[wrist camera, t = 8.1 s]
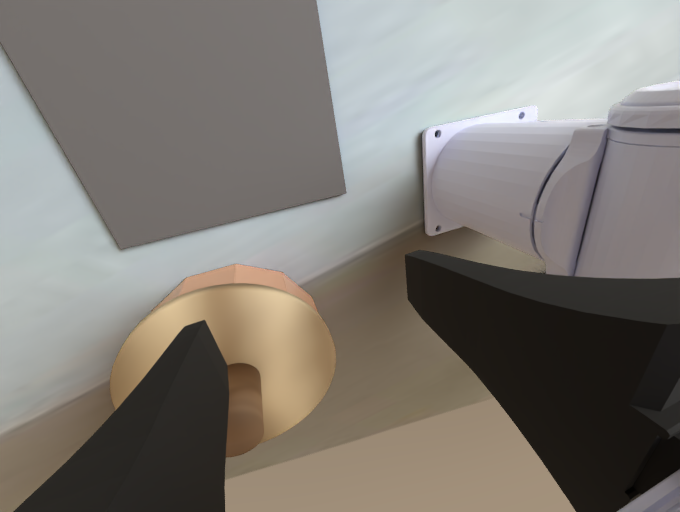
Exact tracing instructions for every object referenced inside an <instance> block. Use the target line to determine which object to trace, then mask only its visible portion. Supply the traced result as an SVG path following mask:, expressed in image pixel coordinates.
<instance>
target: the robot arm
mask: <svg viewBox="0 0 680 512" xmlns="http://www.w3.org/2000/svg"><path fill="white" fill-rule="evenodd" d="M519 114H520V117H519ZM537 114H538V109H537V107H536V106H527V107H522V108H517V109H513V110H508V111H503V112H499V113H494V114H489V115H484V116H480V117H475V118H470V119H466V120H461V121H456V122H451V123H447V124H442V125H437V126H433V127H428V128H426V129H425V130H424V132H423V135H422V146H423V180H424V214H425V233H426V234H427V235H429V236H434V235H437V234H441V233H444V232H447V231H451V230H454V229H457V228H461V227H464V226H465V227H468V228H470V229H472V230H475V231H477V232H479V233H481V234H484V235H486V236H488V237H490V238H493V239H495V240H497V241H500V242H502V243H504V244H506V245H509V246H511V247H513V248H515V249H518V250H520V251H522V252H525V253H527V254H529V255H531V256H534V257H536V258H538V259H540V260H543V261H545V263H546V274H543V273H535V272H527V271H520V270H514V269H508V268H503V267H497V266H492V265H487V264H482V263H477V262H473V261H468V260H464V259H460V258H456V257H451V256H447V255H443V254H438V253H434V252H429V251H422V250H418V251H415V252H412V253H409V254H406V255H405V264H406V279H407V293H408V300H409V301H410V303H411V304H412V306H413V307H414V309H415V310H416V311H417V313H418V314H419V315H420V316H421V318H422V319H423V320H424V321H425V322H426V323H427V324H428V325H429V326H430V327H431V328H432V330H433V331H434V332H435V333H436V334H437V335H438V336H439V337H440V338H441V339H442V340H443V341H444V342H445V343H446V344H447V345H448V346H449V347H450V348H451V349H452V350H453V351H454V352H455V353H456V354H457V355H458V356H459V357H460V358H461V359H462V360H463V361H464V362H465V363H466V364H467V365H468V366H469V367H470V368H471V369H472V371H473V372H474V373H475V374H476V375H477V376H478V378H479V379H480V380H481V381H482V382H483V384H484V385H485V386H486V387H487V389H488V390H489V391H490V392H491V394H492V395H493V396H494V397H495V398H496V400H497V401H498V402H499V403H500V405H501V406H502V408H503V409H504V410H505V411H506V413H507V414H508V415H509V417H510V418H511V419H512V421H513V422H514V423H515V424H516V426H517V427H518V429H519V430H520V431H521V433H522V434H523V435H524V437H525V438H526V439H527V441H528V442H529V444H530V445H531V446H532V448H533V449H534V451H535V452H536V453H537V455H538V456H539V458H540V459H541V460H542V462H543V463H544V465H545V466H546V468H547V469H548V471H549V472H550V473H551V475H552V476H553V478H554V479H555V481H556V482H557V484H558V485H559V487H560V488H561V490H562V491H563V493H564V494H565V495H566V497H567V498H568V500H569V501H570V503H571V504H572V506H573V507H574V509H575V511H576V512H680V80H677V81H671V82H666V83H660V84H655V85H650V86H646V87H642V88H639V89H636V90H634V91H633V92H632V93H630V94H629V95H628V96H627V97H625V98H624V99H623V100H622V101H621V102H618V103H616V104H614V105H613V106H612V107H610V109H609V113H608V118H599V119H565V120H537ZM436 130H437V131H438V135H437V137H435V132H436ZM437 226H438V229H437V230H436V227H437ZM228 411H229V380H228V368H227V363H226V361H225V359H224V357H223V355H222V353H221V351H220V349H219V347H218V345H217V343H216V341H215V339H214V337H213V335H212V333H211V331H210V329H209V327H208V325H207V323H206V321H205V320H202V321H199V322H196V323H193V324H190V325H187V326H184V328H183V329H182V330H181V331H180V332H179V333H178V335H177V336H176V337H175V338H174V340H173V341H172V342H171V343H170V345H169V346H168V347H167V349H166V350H165V351H164V353H163V354H162V355H161V356H160V358H159V359H158V360H157V361H156V363H155V364H154V365H153V366H152V368H151V369H150V370H149V372H148V373H147V374H146V375H145V377H144V378H143V379H142V380H141V381H140V383H139V384H138V385H137V386H136V387H135V388H134V390H133V391H132V392H131V393H130V394H129V395H128V397H127V398H126V399H125V400H124V401H123V402H122V404H121V405H120V406H119V407H118V408H117V409H116V411H115V412H114V413H113V414H112V415H111V416H110V417H109V418H108V420H107V421H106V422H105V423H104V424H103V425H102V426H101V427H100V428H99V429H98V430H97V431H96V432H95V433H94V435H93V436H92V437H91V438H90V439H89V440H88V441H87V442H86V443H85V444H84V445H83V446H82V447H81V448H80V449H79V450H78V451H77V452H76V453H75V454H74V455H73V456H72V457H71V458H70V459H69V460H68V461H67V462H66V463H65V464H64V465H63V466H62V467H61V468H60V469H59V470H58V471H56V472H55V473H54V474H53V475H52V476H51V477H50V478H49V479H48V480H47V481H46V482H45V483H44V484H42V485H41V486H40V487H39V488H38V489H37V490H36V491H35V492H34V493H33V494H32V495H31V496H30V497H29V498H27V499H26V500H25V501H24V502H23V503H22V504H21V505H20V506H19V507H18V508H17V509H16V510H15V511H14V512H225V492H224V482H225V459H226V443H227V428H228Z"/></svg>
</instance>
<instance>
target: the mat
mask: <svg viewBox="0 0 680 512" xmlns="http://www.w3.org/2000/svg"><path fill="white" fill-rule="evenodd" d="M0 42H1V44H2V46H3V48H4V49H5V51H6V53H7V54H8V56H9V58H10V60H11V61H12V63H13V65H14V66H15V68H16V70H17V72H18V73H19V75H20V77H21V79H22V80H23V82H24V84H25V85H26V87H27V89H28V91H29V92H30V94H31V96H32V97H33V99H34V101H35V103H36V104H37V106H38V108H39V109H40V111H41V113H42V115H43V116H44V118H45V120H46V122H47V123H48V125H49V127H50V128H51V130H52V132H53V134H54V135H55V137H56V139H57V140H58V142H59V144H60V146H61V147H62V149H63V151H64V152H65V154H66V156H67V158H68V159H69V161H70V163H71V165H72V166H73V168H74V170H75V171H76V173H77V175H78V177H79V178H80V180H81V182H82V183H83V185H84V187H85V189H86V190H87V192H88V194H89V195H90V197H91V199H92V201H93V202H94V204H95V206H96V208H97V209H98V211H99V213H100V214H101V216H102V218H103V220H104V221H105V223H106V225H107V226H108V228H109V230H110V232H111V233H112V235H113V237H114V238H115V240H116V242H117V244H118V245H119V247H120V249H124V248H128V247H132V246H136V245H140V244H144V243H148V242H152V241H156V240H160V239H164V238H168V237H172V236H176V235H180V234H185V233H189V232H193V231H197V230H201V229H205V228H209V227H213V226H217V225H221V224H225V223H229V222H233V221H237V220H241V219H245V218H249V217H253V216H257V215H261V214H265V213H269V212H273V211H277V210H281V209H285V208H289V207H293V206H297V205H301V204H305V203H309V202H313V201H317V200H321V199H325V198H329V197H333V196H337V195H341V194H345V193H346V187H345V181H344V174H343V168H342V162H341V155H340V149H339V142H338V136H337V130H336V123H335V117H334V111H333V104H332V98H331V91H330V85H329V79H328V72H327V66H326V60H325V53H324V47H323V40H322V34H321V28H320V21H319V15H318V9H317V2H316V0H0Z"/></svg>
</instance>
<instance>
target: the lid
mask: <svg viewBox="0 0 680 512" xmlns="http://www.w3.org/2000/svg"><path fill="white" fill-rule="evenodd" d="M202 320H205V321H206V323H207V325H208V327H209V329H210V331H211V333H212V335H213V337H214V339H215V341H216V343H217V345H218V347H219V349H220V351H221V353H222V355H223V357H224V359H225V361H226V363H227V368H228V380H229V411H228V428H227V443H226V457H233V456H238V455H241V454H244V453H246V452H248V451H250V450H251V449H253V448H254V447H256V446H257V445H258V444H259V443H262V442H265V441H267V440H270V439H272V438H274V437H276V436H278V435H280V434H282V433H283V432H285V431H287V430H289V429H290V428H292V427H293V426H295V425H296V424H298V423H299V422H300V421H301V420H302V419H304V418H305V417H306V416H307V415H308V414H309V413H310V412H311V411H312V410H313V409H314V408H315V407H316V406H317V405H318V403H319V402H320V401H321V400H322V398H323V397H324V395H325V394H326V392H327V390H328V388H329V386H330V384H331V381H332V378H333V375H334V371H335V366H336V352H335V346H334V343H333V340H332V337H331V334H330V332H329V330H328V327H327V326H326V324H325V322H324V320H323V319H322V318H321V316H320V315H319V314H318V312H317V311H316V310H315V309H313V308H312V307H311V306H310V305H309V304H308V303H306V302H305V301H303V300H302V299H300V298H299V297H297V296H295V295H293V294H291V293H289V292H286V291H283V290H280V289H277V288H274V287H270V286H265V285H259V284H249V283H230V284H222V285H214V286H209V287H205V288H201V289H197V290H194V291H191V292H188V293H185V294H183V295H180V296H178V297H176V298H174V299H172V300H170V301H168V302H166V303H164V304H163V305H161V306H160V307H158V308H157V309H155V310H154V311H152V312H151V313H150V314H149V315H147V316H146V317H145V318H144V319H143V320H142V321H141V322H140V323H139V324H138V325H137V326H136V327H135V328H134V329H133V331H132V332H131V333H130V335H129V336H128V338H127V339H126V341H125V342H124V344H123V346H122V348H121V349H120V351H119V353H118V355H117V357H116V360H115V362H114V364H113V367H112V372H111V377H110V393H111V398H112V402H113V404H114V407H115V409H117V408H118V407H119V406H120V405H121V404H122V402H123V401H124V400H125V399H126V398H127V397H128V395H129V394H130V393H131V392H132V391H133V390H134V388H135V387H136V386H137V385H138V384H139V383H140V381H141V380H142V379H143V378H144V377H145V375H146V374H147V373H148V372H149V370H150V369H151V368H152V366H153V365H154V364H155V363H156V361H157V360H158V359H159V358H160V356H161V355H162V354H163V353H164V351H165V350H166V349H167V347H168V346H169V345H170V343H171V342H172V341H173V340H174V338H175V337H176V336H177V335H178V333H179V332H180V331H181V330H182V329H183V328H184V326H187V325H190V324H193V323H196V322H199V321H202Z"/></svg>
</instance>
